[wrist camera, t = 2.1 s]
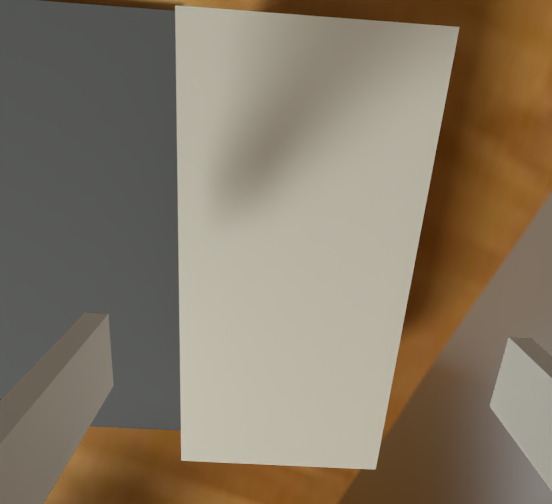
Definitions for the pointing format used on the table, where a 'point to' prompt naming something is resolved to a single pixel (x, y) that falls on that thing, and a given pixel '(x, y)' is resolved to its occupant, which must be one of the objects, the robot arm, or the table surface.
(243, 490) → the table surface
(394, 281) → the lid
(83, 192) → the rubber mat
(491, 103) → the table surface
